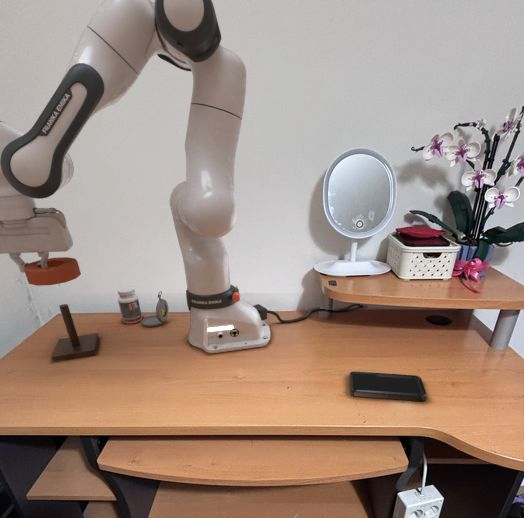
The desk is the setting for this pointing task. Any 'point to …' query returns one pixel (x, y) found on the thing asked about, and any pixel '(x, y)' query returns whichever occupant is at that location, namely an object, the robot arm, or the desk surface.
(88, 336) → the peg on square base
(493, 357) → the desk surface
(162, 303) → the pocket watch
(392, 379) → the phone
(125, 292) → the pill bottle
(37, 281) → the ring
